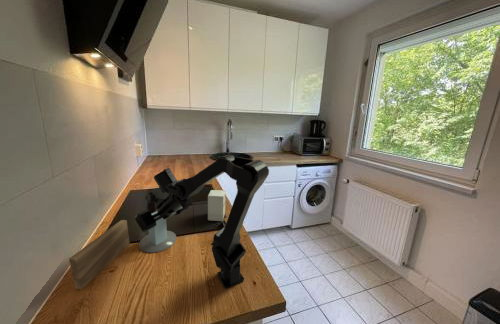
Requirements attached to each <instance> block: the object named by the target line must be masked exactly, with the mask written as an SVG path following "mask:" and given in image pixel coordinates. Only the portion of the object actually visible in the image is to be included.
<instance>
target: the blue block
mask: <svg viewBox="0 0 500 324" xmlns="http://www.w3.org/2000/svg"><path fill="white" fill-rule="evenodd" d="M156 213H158V212H157V210H156V211H154V212H152V213H151V214H152V215H154V214H156ZM158 217H159V216H158ZM156 218H157V217H156ZM154 219H155V218H154ZM147 233H148V234H149V242H151V243H153V244H155V245H158V244H159V243H161V242H162V241H164V240H165V239H167V219H165V220H164V219H163V218H161V219H160V220H158V221H156V226H155V227H154V228H152V229H150V230H148V231H147ZM148 234H147V235H148Z"/></svg>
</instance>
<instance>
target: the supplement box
mask: <svg viewBox="0 0 500 324" xmlns="http://www.w3.org/2000/svg"><path fill="white" fill-rule="evenodd" d="M225 214H226V190H221V189H219V190H218V189H217V190H215V189H211V190H210V191H209V193H208V195H207V220H208V221H212V222H213V221H215V222H222V221H223V219H224V218H225Z"/></svg>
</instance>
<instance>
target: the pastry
mask: <svg viewBox="0 0 500 324" xmlns="http://www.w3.org/2000/svg"><path fill="white" fill-rule="evenodd" d="M228 217H229V216H226V217H224V218H223V221H221V222H222V224H223V227H225V225H226V222H227V219H228Z"/></svg>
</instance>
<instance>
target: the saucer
mask: <svg viewBox="0 0 500 324" xmlns="http://www.w3.org/2000/svg"><path fill="white" fill-rule="evenodd" d="M176 241H177V235H176V233H175V232H174V231H171V230H167V239H165V240H164V241H162V242H161V243H159V244H158V245H155V244H153V243H151V242H149V234H146V235H145V236H143V237H142V238H141V239H140V241H139V244H138V245H139V249H140V250H141V251H142V252H144V253H149V254H153V253H154V254H155V253H160V252H163V251H166V250H168V249H170V248H171V247H172V246H173V245H174V244H175V243H176Z"/></svg>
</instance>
